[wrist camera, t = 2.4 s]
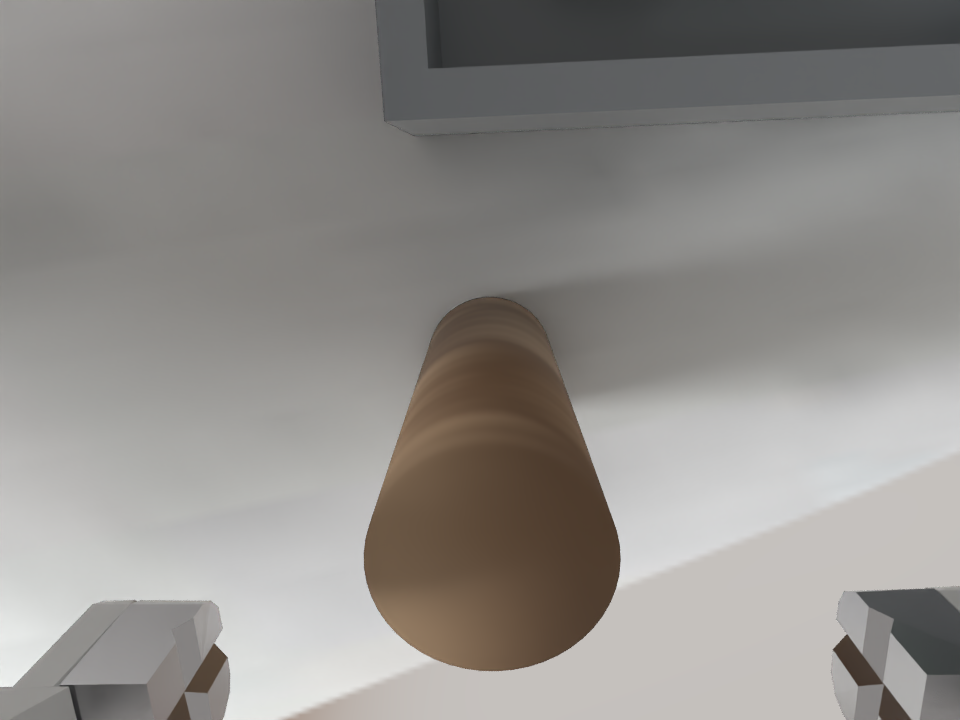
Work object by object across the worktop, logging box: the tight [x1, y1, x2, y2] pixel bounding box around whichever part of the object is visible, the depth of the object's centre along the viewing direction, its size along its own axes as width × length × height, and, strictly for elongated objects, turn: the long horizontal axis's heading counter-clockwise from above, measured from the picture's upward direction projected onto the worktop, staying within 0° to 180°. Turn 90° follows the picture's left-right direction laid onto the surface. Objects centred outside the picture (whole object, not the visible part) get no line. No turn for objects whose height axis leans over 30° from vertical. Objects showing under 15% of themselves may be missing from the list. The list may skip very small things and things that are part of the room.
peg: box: [364, 297, 621, 671], centre depth 16 cm, size 4×4×12 cm
